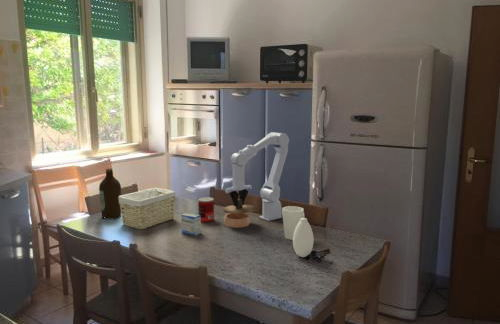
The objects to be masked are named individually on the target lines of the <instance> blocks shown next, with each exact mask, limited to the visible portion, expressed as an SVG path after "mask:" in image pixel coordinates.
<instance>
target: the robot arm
mask: <svg viewBox="0 0 500 324" xmlns="http://www.w3.org/2000/svg"><path fill="white" fill-rule="evenodd" d="M289 143H290V138H289V136H288V134H287V133H285V132H276V131H270V132H269V133H267V134H266V136H264V137H263V138H262V139H260V140H259V141H258V142H256V143H255V144H247V145H246V147H244V148H242V149H240V150H239V151H238V152H234V153H233V154H232V155H231V157H230V159H229V161H230V163H231V166H232V186H230V187H226V188H224V193H226V194H229V196H230V198H231V201H232V205H234V206H236V207H237V205H238V199H242V205H245V201H246V198H247V195H248V194H249V190H252V188H253V186H252V185H251V184H246V183H245V182H246V181H245V174H246V173H245V169H246V168H245V166H246V165H247V163H248V161H249V160H251V159H252V158H254V157H255V156H257V154H258V152H260V151H261V150H262V149H264V148H266V147H267V146H272V147H273V148H274V150H275V152H276V153H275V155H274V159H273V163H272V166H271V169H270V172H269V175H268V179H267V181H266V182H264V183H263V186H262V188H261V189H260V191H259V197H260V198H261V201H262V215H259V216H258V218H260V219H262V220H265V221H268V222H269V221H273V220H278V219H283V215H282V202H281V201H280V200H279V199H280V197H281V187H280V185H279V182H280V180H281V176H282V174H283V173H282V172H283V169H284V165H285V162H286V158H287V155H288V153H289Z"/></svg>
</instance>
